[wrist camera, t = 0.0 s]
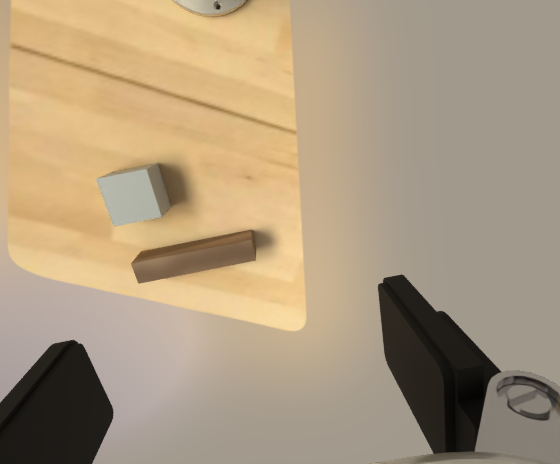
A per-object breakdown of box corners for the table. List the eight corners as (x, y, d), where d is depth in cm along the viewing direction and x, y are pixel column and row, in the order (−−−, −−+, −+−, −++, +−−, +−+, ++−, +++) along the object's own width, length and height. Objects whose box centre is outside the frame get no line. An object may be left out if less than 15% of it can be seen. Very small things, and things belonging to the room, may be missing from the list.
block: (112, 171, 44) (95, 178, 40) (157, 162, 44) (146, 168, 40) (128, 214, 46) (113, 226, 42) (171, 206, 46) (161, 217, 42)
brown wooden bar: (140, 251, 48) (131, 263, 44) (251, 229, 48) (251, 239, 44) (147, 270, 49) (138, 283, 45) (256, 248, 49) (256, 260, 45)
